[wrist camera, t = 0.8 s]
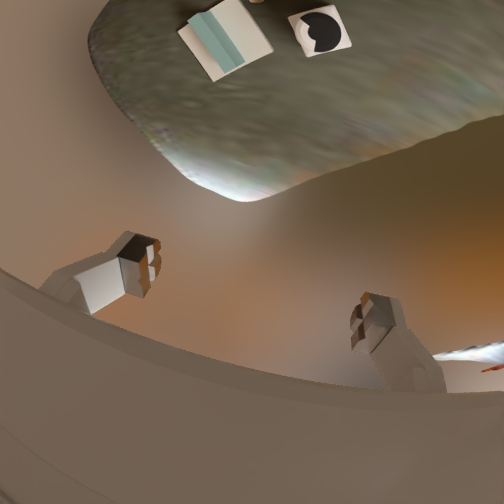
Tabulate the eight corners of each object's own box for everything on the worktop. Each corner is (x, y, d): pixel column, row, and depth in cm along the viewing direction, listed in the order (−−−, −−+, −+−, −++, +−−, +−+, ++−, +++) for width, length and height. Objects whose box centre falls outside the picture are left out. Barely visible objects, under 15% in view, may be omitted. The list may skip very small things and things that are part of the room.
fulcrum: (236, -5, 31) (223, -7, 27) (274, 50, 38) (266, 55, 35) (180, 31, 38) (163, 35, 34) (215, 80, 46) (202, 89, 42)
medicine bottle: (334, 5, 29) (333, 2, 22) (350, 42, 33) (354, 50, 26) (294, 16, 33) (280, 17, 25) (310, 51, 37) (302, 63, 30)
